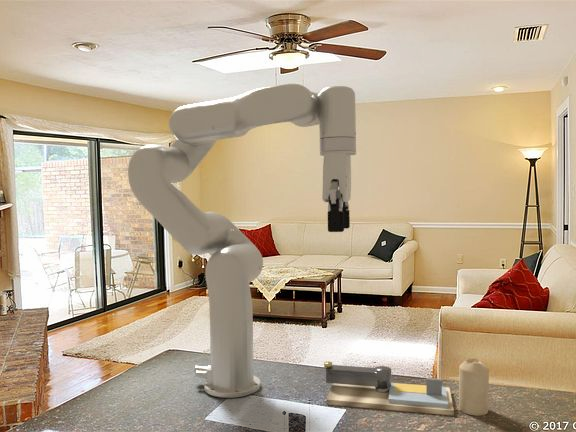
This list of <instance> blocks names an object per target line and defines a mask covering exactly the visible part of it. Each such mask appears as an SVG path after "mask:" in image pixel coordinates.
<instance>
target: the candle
mask: <svg viewBox="0 0 576 432" xmlns="http://www.w3.org/2000/svg"><path fill="white" fill-rule="evenodd" d="M458 367H459V368H458V372H459V373H458V408H459V410H460V412H462V413H464V414H466V415H469V416H477V417H479V416H481V417H482V416H486V415H487V414H488V413H489V405H490V404H489V397H490V396H489V395H490V393H489V391H490V389H489V388H490V386H489V384H490V383H489V380H490V379H489V378H490V377H489V376H490V371H489V370H490V369H489V367H488V366H487V365H485V364H484V363H483V362H482V361H481V360H479V359H477V358H467V359H466V360H464V361H463V362H462V363H460V365H459V366H458Z"/></svg>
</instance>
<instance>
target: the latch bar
mask: <svg viewBox="0 0 576 432" xmlns="http://www.w3.org/2000/svg"><path fill="white" fill-rule="evenodd" d="M323 368H325V378H326V379H325V383H326V384H333V383H336V384H348V385H361V386H374V387H381V388H390V386H391V383H392V368H391V367H389V366H385V365H380V366H379V365H378V366H375V367H368V366H353V365H350V366H349V365H338V364H337V365H336V364H333V362H332V361H324V362H323Z"/></svg>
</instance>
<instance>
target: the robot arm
mask: <svg viewBox="0 0 576 432" xmlns="http://www.w3.org/2000/svg"><path fill="white" fill-rule="evenodd" d="M356 114H357V113H356V92H355V91H354V89H353V88H351V87H349V86H345V85H334V86H327V87H325V88H322V90H321V91H320V92H313V91H311V90H310V89H309V88H308V87H306V86H305V85H302V84H299V83H284V84H277V85H271V86H266V87H259V88H256V89H253V90H249V91H247V92H245V93H243V94H239V95H237V96H233V97H229V98H223V99H217V100H210V101H204V102H198V103H193V104H187V105H186V104H185V105H183V106H179V107H178V108H175V110H174V111H172V112H171V114H170V116H169V119H168V128H169V131H170V132H171V134H172V136H173V137H174V138H175V140H174V141H173V143H172V144H171V145H170V146H166V145H162V144H147V145H144V146H141V147H139V148H138V149H137V150H135V151H134V152H133V154H132V155H131V156H130V157H131V158H130V160H129V163H128V167H127V168H128V169H127V176H128V177H127V178H128V183H129V186H130V189H131V192H132V194H133V195H134V196H135V198H136V200H138V202H139V203H140V205H142V207H144V209H146V211H148V213H149V214H151V216H152V217H153V218H154V219H155V220H156V221H157V222H158V223H159V224H160V226H162V227H163V228H164V230H165V231H167V233H168V234H169V235H170V236H171V237H173V239H174V240H175V241H176V242H177V243H178V244H179V245H180V246H181V247H182V248H183V250H185V251H186V252H187V253H189V254H190V255H196V256H198V255H199V256H202V255H204V254H209V255H210V257H209V258H208V260H207V263H206V267H205V280H206V282H205V283H206V286H207V287H206V288H207V294H208V301H209V302H208V305H209V309H208V310H209V339H210V340H209V343H210V344H209V345H210V346H209V347H210V348H209V349H210V354H209V355H210V365H208V366H204V365H195V367H194V375H195V378H198V379H200V378H204V379H205V382H204V384H203V390H204V391H205V393H206V394H207V395H210V396H213V397H217V398H223V399H224V398H225V399H227V398H229V399H230V398H231V399H233V398H234V399H235V398H241V397H246V396H249V395H252V394H254V393H256V392H257V391H258V390H260V388H261V387H262V385H261V379H260V378H259V377H258V376H257V375H255V374H254V327H253V326H254V322H253V321H254V319H253V316H254V315H253V314H254V313H253V300H252V293H251V288H250V287H251V286H250V283H251V282H253V281H254V280H255V279H258V277H259V276H260V274H261V273H262V270H263V268H264V267H263V266H264V260H263V256H262V253H261V252H260V250H259V249H258V247H257V246H256V245H255V244H254V243H253V242H252V241H251V240H250V239H249V238H248V237H247V236H246V235H245V234H244V232H242V231H241V230H240V229H239V228H238V227H237V226H236V225H235V224H234V223H233V222H232V221H231V219H228V218H227V217H226V216H224V215H223V214H222V213H218V212H215V211H203V210H201V209H200V208H199V207H197V206H196V204H195V203H193V202H192V200H190V199H189V198H188V196H187V195H186V194H184V192H183V191H181V190H180V189H179V188H177V187H175V185H173V184H176V183H180V182H181V183H182V182H183V181H185V180H186V179H188V178H189V177H190V175H192V173H194V171H195V170H196V168H198V166H199V165H200V164H201V162H202V161H203V160H204V158H205V157H206V156H207V155H208V154H209V152H210V151H211V150H212V149H213V147H214V145H215V144H216V142H218V140H225V139H233V138H240V137H242V136H243V137H244V136H245V135H246V134H248V132H249V131H250V130H252V129H256V128H259V127H262V126H268V125H273V124H274V125H275V124H279V123H280V124H281V123H289V122H290V123H291V124H294V125H295V126H297V127H301V128H308V127H312V126H319V156H321V157H322V156H323V162H322V163H323V164H322V195H321V196H322V201H323V202H324V203H327V204H328V205H327V232H329V233H343V232H344V231H345V229H350V227H351V226H350V224H351V223H350V216H351V215H350V205H349V201H350V200H351V198H352V197H351V196H352V195H351V194H352V193H351V192H352V163H351V162H352V159H351V158H352V157H351V156H355V155H357V130H356V129H357V125H356V124H357V123H356V119H357V118H356Z"/></svg>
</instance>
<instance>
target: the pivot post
mask: <svg viewBox="0 0 576 432" xmlns="http://www.w3.org/2000/svg"><path fill="white" fill-rule="evenodd" d="M375 390H376V391H377V392H380V393H388V392H389V390H390V388H381V387H375Z"/></svg>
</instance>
